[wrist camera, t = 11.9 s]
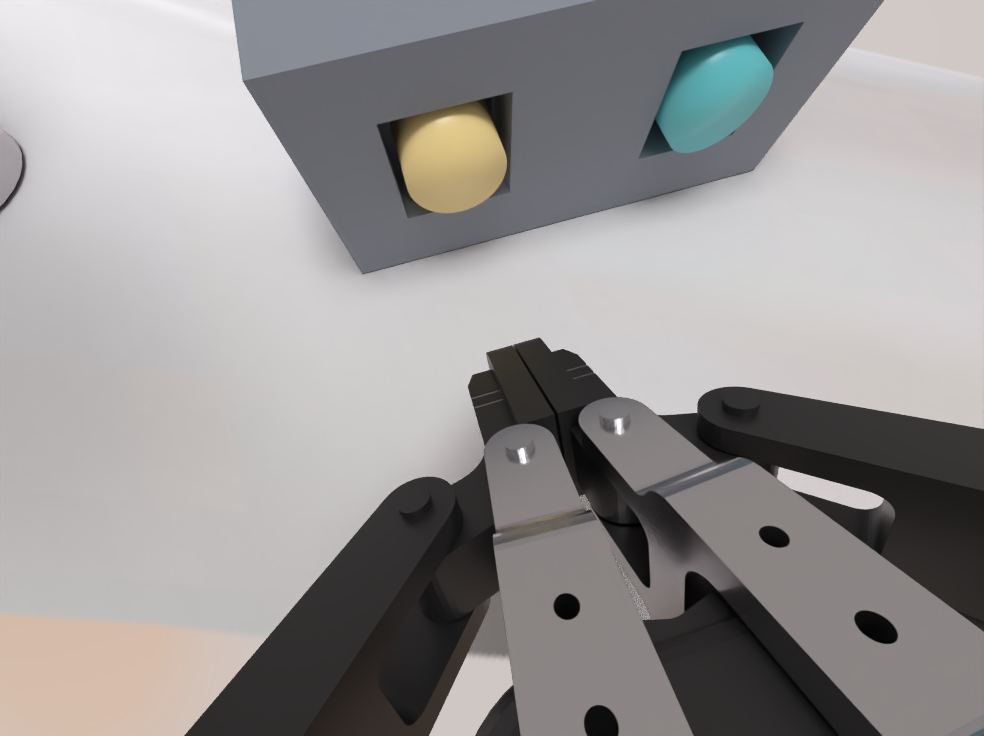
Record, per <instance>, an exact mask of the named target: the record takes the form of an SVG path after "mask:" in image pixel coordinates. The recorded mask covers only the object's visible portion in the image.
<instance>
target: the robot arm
mask: <svg viewBox="0 0 984 736" xmlns="http://www.w3.org/2000/svg"><path fill="white" fill-rule="evenodd" d="M21 169H22V153H21V151H20V148H19V146H18V144H17V143H16V142H15V140H14V139H13V138H12V137H11V136H10V135H8V134H7V133H6V132H4V131H3V130H2V129H0V206H1V205H2V204H3V203H4V202H5V201H6V199H7V198H8V197H9V195H10V194H11V193H12V191H13V190H14V188H15V186H16V184H17V182H18V179H19V177H20V174H21ZM486 355H487V360H488V364H489V368H490V370H488V371H485V372H481V373H478V374H474V375H473V376H472V378H471V380H470V383H469V385H468V389H469V392H470V396H471V399H472V403H473V406H474V410H475V413H476V417H477V420H478V424H479V427H480V431H481V434H482V438H483V441H484V444H485V449H484V456H483V459H482V461H481V462H480V464H479V465H478V466H477V467H476V468H475V469H474V471H472V472H471V473H470V474H469V475H467V476H466V477H464V478H463V479H461V480H459V481H458V482H456V483H454V484H453V485H450V484H449V483H448V482H447V481H445V480H443V479H441V478H437V477H422V478H418V479H414V480H411V481H409V482H407V483H405V484H403V485H401V486H400V487H398V488H397V489H395V490H394V491H393V492H392V493H390V494H389V496H388V497H387V498H386V499H385V500H384V501H383V502H382V503H381V505H380V506H379V507H378V508H377V509H376V511H375V512H374V513H373V514H372V515H371V516H370V518H369V519H368V520H367V521H366V522H365V523H364V525H363V526H362V527H361V528H360V529H359V531H358V532H357V533H356V534H355V535H354V536H353V538H352V539H351V540H350V541H349V542H348V544H347V545H346V546H345V547H344V548H343V549H342V551H341V552H340V553H339V554H338V555H337V556H336V558H335V559H334V560H333V561H332V562H331V564H330V565H329V566H328V567H327V568H326V569H325V571H324V572H323V573H322V574H321V575H320V577H319V578H318V579H317V580H316V581H315V582H314V584H313V585H312V586H311V587H310V588H309V590H308V591H307V592H306V593H305V594H304V595H303V597H302V598H301V599H300V600H299V601H298V602H297V604H296V605H295V606H294V607H293V608H292V610H291V611H290V612H289V613H288V614H287V615H286V617H285V618H284V619H283V620H282V621H281V623H280V624H279V625H278V626H277V627H276V628H275V630H274V631H273V632H272V633H271V634H270V635H269V637H268V638H267V639H266V640H265V641H264V643H263V644H262V645H261V646H260V647H259V649H258V650H257V651H256V652H255V653H254V654H253V656H252V657H251V658H250V659H249V660H248V661H247V663H246V664H245V665H244V666H243V667H242V668H241V670H240V671H239V672H238V673H237V674H236V676H235V677H234V678H233V679H232V680H231V681H230V683H229V684H228V685H227V686H226V687H225V689H224V690H223V691H222V692H221V693H220V694H219V696H218V697H217V698H216V699H215V700H214V702H213V703H212V704H211V705H210V706H209V707H208V709H207V710H206V711H205V712H204V713H203V715H202V716H201V717H200V718H199V719H198V720H197V722H196V723H195V724H194V725H193V726H192V727H191V729H190V730H189V731H188V732H187V733H186V734H185V736H429V734H430V732H431V730H432V728H433V726H434V723H435V721H436V719H437V717H438V715H439V712H440V711H441V709H442V706H443V704H444V702H445V700H446V698H447V696H448V694H449V692H450V689H451V687H452V685H453V683H454V681H455V679H456V677H457V675H458V672H459V670H460V668H461V666H462V664H463V662H464V660H465V658H466V655H467V653H468V651H469V649H470V647H471V645H472V643H473V641H474V638H475V636H476V634H477V632H478V630H479V628H480V626H481V623H482V621H483V619H484V617H485V615H486V613H487V610H488V608H489V603H490V597H491V596H492V595H494V594H495V593H496V592H498V591H499V590H500V595H501V602H502V609H503V616H504V623H505V630H506V637H507V644H508V651H509V658H510V665H511V671H512V679H513V686H511V687H510V688H509V689H508V690H507V691H506V692H505V693H504V695H503V696H502V697H501V698H500V699H499V701H498V702H497V703H496V704H495V706H494V707H493V708H492V709H491V711H490V712H489V714H488V715H487V717H486V718H485V720H484V722H483V723H482V725H481V726H480V728H479V729H478V731H477V734H476V735H475V736H984V429H980V428H974V427H969V426H963V425H957V424H952V423H946V422H940V421H935V420H929V419H923V418H918V417H912V416H906V415H901V414H895V413H889V412H883V411H878V410H872V409H866V408H861V407H855V406H849V405H844V404H838V403H832V402H827V401H821V400H815V399H810V398H804V397H798V396H792V395H787V394H781V393H775V392H770V391H764V390H758V389H753V388H746V387H723V388H718V389H714V390H711V391H709V392H707V393H705V394H704V395H703V396H702V397H701V398H700V399H699V401H698V408H697V413H690V414H677V415H656V414H655V413H654V412H653V411H652V410H650V409H649V408H648V407H647V406H645V405H644V404H643V403H641V402H639V401H636V400H633V399H629V398H622V397H617V396H616V395H615V394H614V393H613V392H612V391H611V390H610V389H609V388H608V387H607V386H606V384H605V383H604V382H603V381H602V380H601V379H600V378H599V377H598V376H597V375H596V374H595V373H593V371H592V370H591V368H590V367H589V366H587V365H586V363H585V362H584V361H583V360H582V359H581V358H580V357H579V356H578V355H577V354H575V353H572V352H570V351H567V350H564V349H561V350H558V351H554V352H551V351H550V349H549V348H548V347H547V346H546V344H545V343H544V342H543V341H542V340H541V338H536V339H532V340H529V341H525V342H522V343H518V344H515V345H513V346H512V345H511V346H508V347H504V348H501V349H497V350H494V351H490V352H487V353H486ZM779 467H782V468H785V469H789V470H793V471H796V472H800V473H804V474H807V475H811V476H814V477H818V478H822V479H825V480H829V481H833V482H836V483H840V484H844V485H847V486H851V487H854V488H858V489H862V490H865V491H869V492H872V493H874V494H876V495H879V496H880V497H882V498H884V500H883V503H882V504H881V505H880V506H879V507H877V508H874V509H867V510H863V509H856V508H852V507H848V506H845V505H842V504H838V503H835V502H832V501H828V500H825V499H822V498H818V497H815V496H812V495H808V494H805V493H802V492H798V491H795V490H792V489H790V488H789V487H787V486H786V485H785V484H783V483H782V482H781V481H779V480H778V479H777V475H778V469H779ZM583 494H585V495H586V497H587V499H588V501H589V503H590V507H591V510H587V511H585V509H584V506H583V504H582V502H581V499H580V497H579V496H580V495H583ZM612 553H613V554H612ZM613 555H614V556H615V558H616V559H617V561H618V562H619V564H620V565H621V567H622V569H623V570H624V572H625V573H626V575H627V576H628V578H629V579H630V581H631V583H632V584H633V586H634V587H635V589H636V590H637V592H638V593H639V595H640V597H641V598H642V600H643V602H644V604H645V606H646V608H647V610H648V612H649V615H650V618H651V620H642V619H641V617H640V614H639V612H638V610H637V608H636V605H635V603H634V601H633V599H632V596H631V594H630V592H629V590H628V587H627V585H626V583H625V581H624V578H623V576H622V574H621V572H620V569H619V567H618V565H617V563H616V560H615V558H614V556H613Z"/></svg>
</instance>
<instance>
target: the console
mask: <svg viewBox="0 0 984 736" xmlns="http://www.w3.org/2000/svg"><path fill="white" fill-rule="evenodd" d="M883 1H884V0H232V7H233V14H234V21H235V29H236V36H237V43H238V50H239V58H240V65H241V72H242V79H243V82H244V84H245V85H246V87H247V89H248V90H249V92H250V93H251V95H252V97H253V98H254V100H255V102H256V103H257V105H258V106H259V108H260V110H261V111H262V113H263V114H264V116H265V118H266V119H267V121H268V122H269V124H270V126H271V127H272V129H273V130H274V132H275V134H276V135H277V137H278V139H279V140H280V142H281V143H282V145H283V147H284V148H285V150H286V151H287V153H288V155H289V156H290V158H291V159H292V161H293V163H294V164H295V166H296V167H297V169H298V171H299V172H300V174H301V176H302V177H303V179H304V180H305V182H306V184H307V185H308V187H309V188H310V190H311V192H312V193H313V195H314V196H315V198H316V200H317V201H318V203H319V204H320V206H321V208H322V209H323V211H324V213H325V214H326V216H327V217H328V219H329V221H330V222H331V224H332V225H333V227H334V229H335V230H336V232H337V233H338V235H339V237H340V238H341V240H342V241H343V243H344V245H345V246H346V248H347V250H348V251H349V253H350V254H351V256H352V258H353V259H354V261H355V262H356V264H357V266H358V267H359V269H360V270H361V272H362V274H364V273H368V272H372V271H376V270H379V269H383V268H387V267H391V266H394V265H398V264H402V263H406V262H409V261H413V260H417V259H421V258H425V257H428V256H432V255H436V254H440V253H443V252H447V251H451V250H455V249H458V248H462V247H466V246H470V245H474V244H477V243H481V242H485V241H489V240H492V239H496V238H500V237H504V236H507V235H511V234H515V233H519V232H523V231H526V230H530V229H534V228H538V227H541V226H545V225H549V224H553V223H556V222H560V221H564V220H568V219H572V218H575V217H579V216H583V215H587V214H590V213H594V212H598V211H602V210H605V209H609V208H613V207H617V206H621V205H624V204H628V203H632V202H636V201H639V200H643V199H647V198H651V197H654V196H658V195H662V194H666V193H670V192H673V191H677V190H681V189H685V188H688V187H692V186H696V185H700V184H703V183H707V182H711V181H715V180H719V179H722V178H726V177H730V176H734V175H737V174H741V173H745V172H749V171H752V170H754V169H755V167H756V166H757V165H758V163H759V162H760V161H761V160H762V158H763V157H764V156H765V154H766V153H767V152H768V150H769V149H770V148H771V147H772V145H773V144H774V143H775V141H776V140H777V139H778V137H779V136H780V135H781V134H782V132H783V131H784V130H785V128H786V127H787V126H788V125H789V123H790V122H791V121H792V119H793V118H794V117H795V115H796V114H797V113H798V112H799V110H800V109H801V108H802V106H803V105H804V104H805V102H806V101H807V100H808V99H809V97H810V96H811V95H812V93H813V92H814V91H815V89H816V88H817V87H818V86H819V84H820V83H821V82H822V80H823V79H824V78H825V76H826V75H827V74H828V73H829V71H830V70H831V69H832V67H833V66H834V65H835V63H836V62H837V61H838V60H839V58H840V57H841V56H842V54H843V53H844V52H845V50H846V49H847V48H848V47H849V45H850V44H851V43H852V41H853V40H854V39H855V37H856V36H857V35H858V34H859V32H860V31H861V29H862V28H863V27H864V25H866V23H867V22H868V20H869V19H870V18H871V17H872V15H873V14H874V13H875V12H876V10H877V9H878V7H879V6H880V5H881V4H882V2H883ZM747 35H750V36H751V37H752V38H753V40H754V41H755V43H756V44H757V45H758V47H759V48H760V50H761V51H762V52H763V54H764V55H765V57H766V58H767V59H768V61H769V62H770V63H771V65H772V67H773V80H772V84H771V86H770V89H769V91H768V93H767V95H766V96H765V98H764V100H763V101H762V102H761V104H760V105H759V106H758V108H757V109H756V110H755V111H754V113H753V114H752V115H751V116H750V117H749V118H748V119H747V120H746V121H745V122H744V123H743V124H742V125H740V126H739V127H738V128H737V129H736V130H734V131H733V132H732V133H731V134H729V135H728V136H726V137H725V138H723V139H722V140H720V141H719V142H717V143H715V144H713V145H711V146H709V147H707V148H705V149H702V150H699V151H696V152H691V153H679V152H676V151H674V150H673V149H672V148H671V147H670V145H669V143H668V142H667V140H666V138H665V136H664V134H663V133H662V131H661V129H660V127H659V125H658V124H657V122H656V120H655V116H656V114H657V111H658V109H659V106H660V104H661V102H662V99H663V97H664V94H665V92H666V89H667V87H668V84H669V82H670V79H671V77H672V74H673V72H674V69H675V67H676V64H677V62H678V59H679V57H680V55H681V52H682V51H684V50H689V49H693V48H697V47H701V46H705V45H709V44H714V43H718V42H722V41H726V40H730V39H734V38H738V37H743V36H747ZM481 99H485V102H486V105H487V107H488V110H489V112H490V115H491V117H492V120H493V123H494V125H495V128H496V130H497V133H498V135H499V138H500V140H501V143H502V146H503V148H504V151H505V153H506V158H507V169H506V173H505V176H504V178H503V181H502V182H501V184H500V186H499V187H498V188H497V190H496V191H495V192H494V193H493V194H492V195H491V196H490V197H489V198H488V199H486V200H485V201H484V202H482V203H480V204H479V205H477V206H475V207H473V208H470V209H468V210H464V211H461V212H456V213H438V212H433V211H430V210H427V209H425V208H423V207H421V206H420V205H418V204H417V203H416V202H415V201H414V200H413V199H412V198H411V196H410V194H409V192H408V190H407V186H406V183H405V179H404V176H403V172H402V169H401V165H400V162H399V158H398V155H397V151H396V147H395V144H394V140H393V137H392V133H391V129H390V121H394V120H398V119H402V118H406V117H410V116H415V115H419V114H423V113H427V112H431V111H435V110H439V109H444V108H448V107H452V106H456V105H460V104H464V103H469V102H473V101H477V100H481Z"/></svg>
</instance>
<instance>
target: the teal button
mask: <svg viewBox="0 0 984 736" xmlns="http://www.w3.org/2000/svg"><path fill="white" fill-rule="evenodd" d="M772 80H773V67H772V65H771V63H770V62H769V61H768V59H767V58H766V57H765V55H764V54H763V52H762V51H761V50H760V48H759V47H758V45H757V44H756V43H755V41H754V40H753V38H752V37H751V36H750V35H747V36H743V37H738V38H734V39H730V40H726V41H722V42H718V43H714V44H709V45H705V46H701V47H697V48H693V49H689V50H684V51H682V52H681V55H680V57H679V59H678V62H677V64H676V67H675V69H674V72H673V74H672V77H671V79H670V82H669V84H668V87H667V89H666V92H665V94H664V97H663V99H662V102H661V104H660V106H659V109H658V111H657V114H656V116H655V120H656V122H657V124H658V125H659V127H660V129H661V131H662V133H663V134H664V136H665V138H666V140H667V142H668V143H669V145H670V147H671V148H672V149H673V150H674V151H676V152H679V153H691V152H696V151H699V150H702V149H705V148H707V147H709V146H711V145H713V144H715V143H717V142H719V141H720V140H722V139H723V138H725V137H726V136H728V135H729V134H731V133H732V132H733V131H734V130H736V129H737V128H738V127H739V126H740V125H742V124H743V123H744V122H745V121H746V120H747V119H748V118H749V117H750V116H751V115H752V114H753V113H754V111H755V110H756V109H757V108H758V106H759V105H760V104H761V102H762V101H763V100H764V98H765V96H766V95H767V93H768V91H769V89H770V86H771V84H772Z"/></svg>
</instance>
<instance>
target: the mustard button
mask: <svg viewBox="0 0 984 736" xmlns="http://www.w3.org/2000/svg"><path fill="white" fill-rule="evenodd" d="M390 129H391V133H392V137H393V140H394V144H395V147H396V151H397V155H398V158H399V162H400V165H401V169H402V172H403V176H404V179H405V183H406V186H407V190H408V192H409V194H410V196H411V198H412V199H413V200H414V201H415V202H416V203H417V204H418V205H420V206H421V207H423V208H425V209H427V210H430V211H433V212H438V213H456V212H461V211H464V210H468V209H470V208H473V207H475V206H477V205H479V204H480V203H482V202H484V201H485V200H486V199H488V198H489V197H490V196H491V195H492V194H493V193H494V192H495V191H496V190H497V188H498V187H499V186H500V184H501V182H502V181H503V178H504V176H505V173H506V169H507V158H506V153H505V151H504V148H503V146H502V143H501V140H500V138H499V135H498V133H497V130H496V128H495V125H494V123H493V120H492V117H491V115H490V112H489V110H488V107H487V105H486V102H485V99H481V100H477V101H473V102H469V103H464V104H460V105H456V106H452V107H448V108H444V109H439V110H435V111H431V112H427V113H423V114H419V115H415V116H410V117H406V118H402V119H398V120H394V121H390Z"/></svg>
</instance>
